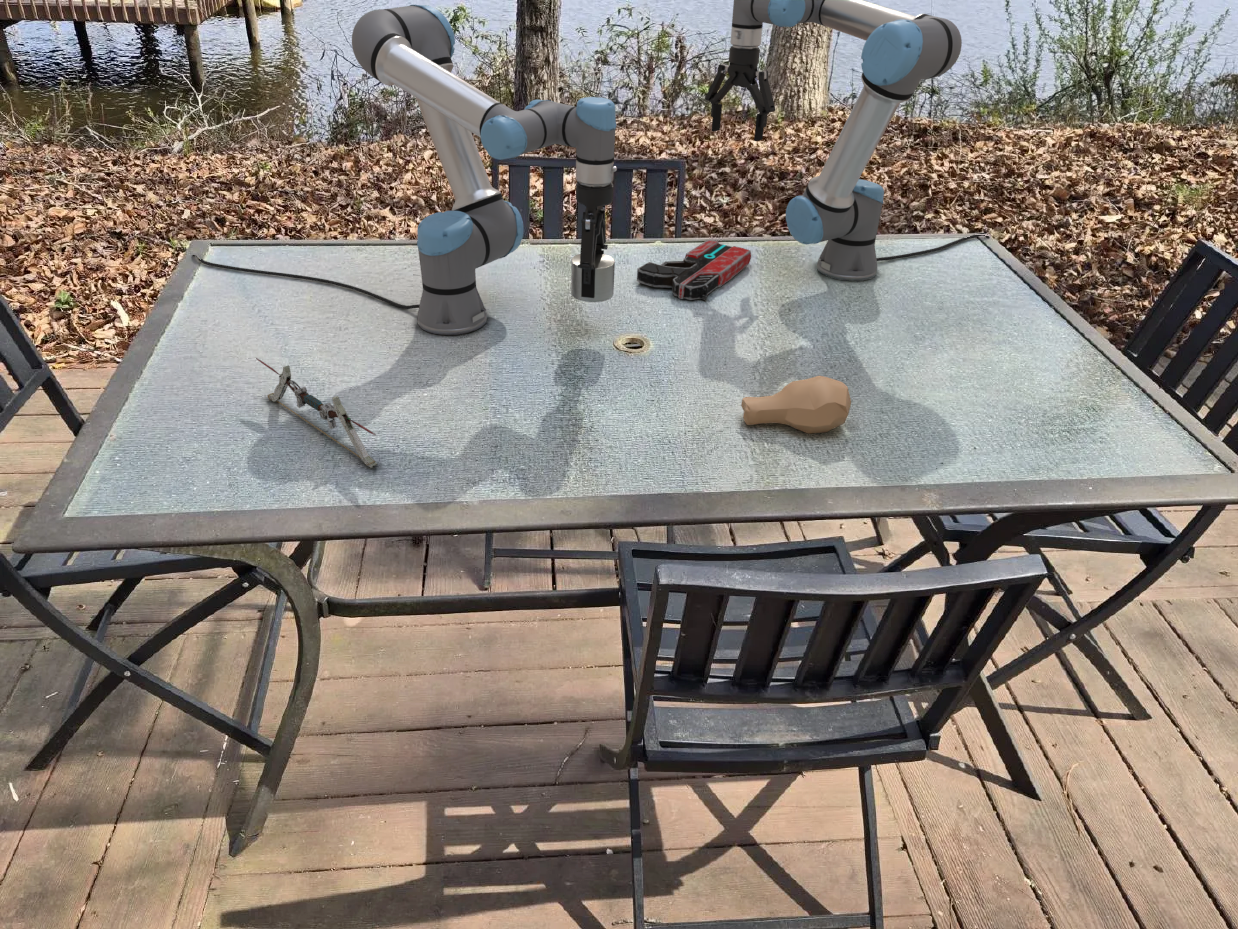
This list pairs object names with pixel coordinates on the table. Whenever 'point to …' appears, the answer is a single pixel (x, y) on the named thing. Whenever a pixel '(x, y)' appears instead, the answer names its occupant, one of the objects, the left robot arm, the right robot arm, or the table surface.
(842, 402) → the squash
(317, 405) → the bow
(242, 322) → the table surface
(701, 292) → the gun
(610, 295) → the canister
